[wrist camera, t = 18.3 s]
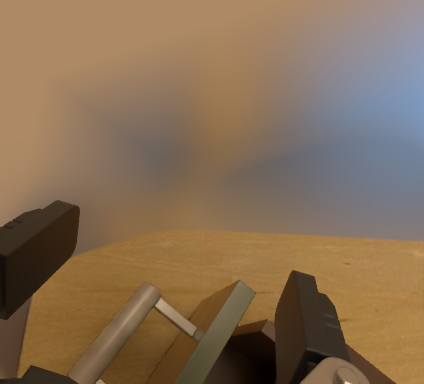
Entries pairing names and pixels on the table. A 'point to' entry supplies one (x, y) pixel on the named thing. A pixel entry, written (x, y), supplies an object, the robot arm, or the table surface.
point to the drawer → (191, 341)
